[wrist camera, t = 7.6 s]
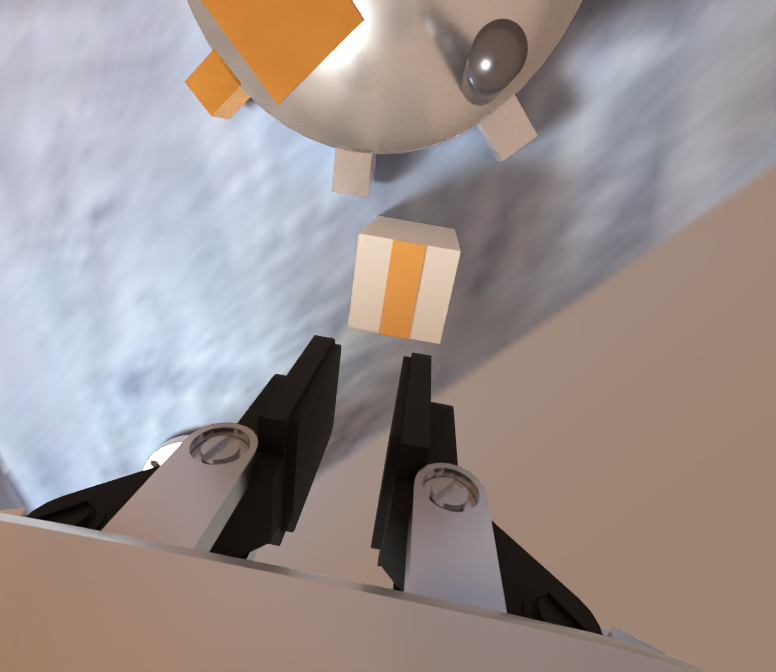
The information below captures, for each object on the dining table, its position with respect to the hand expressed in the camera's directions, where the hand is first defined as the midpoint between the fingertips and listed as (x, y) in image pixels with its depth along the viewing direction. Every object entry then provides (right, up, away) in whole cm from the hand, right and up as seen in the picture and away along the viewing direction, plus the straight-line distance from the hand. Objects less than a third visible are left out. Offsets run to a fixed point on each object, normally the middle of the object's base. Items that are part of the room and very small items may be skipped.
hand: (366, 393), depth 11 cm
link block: (+2, +7, +16) cm, 17 cm away
